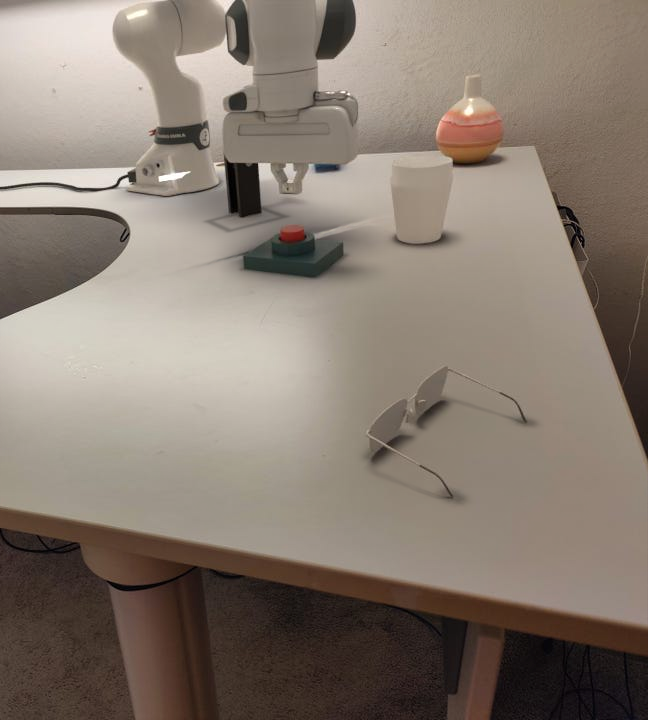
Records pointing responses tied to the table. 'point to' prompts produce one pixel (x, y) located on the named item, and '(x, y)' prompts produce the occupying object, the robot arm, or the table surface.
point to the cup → (421, 196)
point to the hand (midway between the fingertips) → (290, 193)
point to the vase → (470, 126)
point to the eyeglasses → (424, 399)
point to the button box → (294, 256)
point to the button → (292, 233)
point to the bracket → (243, 188)
